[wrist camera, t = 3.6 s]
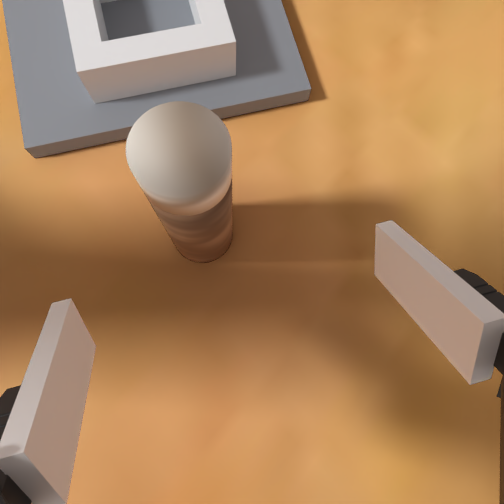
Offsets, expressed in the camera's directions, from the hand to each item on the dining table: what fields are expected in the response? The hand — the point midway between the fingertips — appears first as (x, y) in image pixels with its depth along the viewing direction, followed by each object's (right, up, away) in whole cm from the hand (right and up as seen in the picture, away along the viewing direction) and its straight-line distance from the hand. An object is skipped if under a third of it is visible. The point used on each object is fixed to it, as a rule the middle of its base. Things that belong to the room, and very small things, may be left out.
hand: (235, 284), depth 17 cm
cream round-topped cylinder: (-3, +3, +12) cm, 13 cm away
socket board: (-7, +19, +16) cm, 26 cm away
